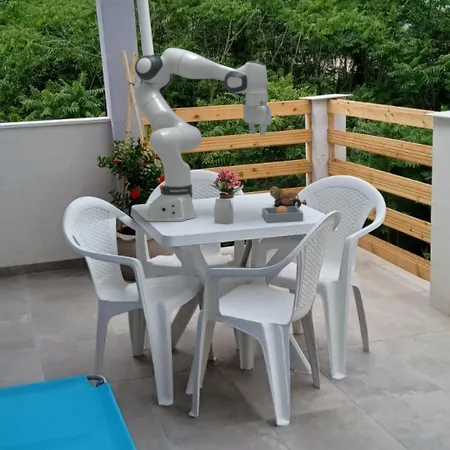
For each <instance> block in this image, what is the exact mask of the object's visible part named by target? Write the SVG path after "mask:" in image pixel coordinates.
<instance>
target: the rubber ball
mask: <svg viewBox="0 0 450 450" xmlns="http://www.w3.org/2000/svg"><path fill="white" fill-rule="evenodd" d="M278 213H288V210H287V208H286V207H285V206H279V207H278V208H277V210H276V214H278Z"/></svg>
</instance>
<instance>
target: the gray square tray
mask: <svg viewBox="0 0 450 450" xmlns="http://www.w3.org/2000/svg"><path fill="white" fill-rule="evenodd" d="M277 208H278V207H274V206H273V207H262V208H261V210H262V213H261V214H262V216H261V217H262V218H263V219H264V220H265V222H266V224H267V223H269V224H271V223H273V222H275V223H291V222H304V212H303V211H302V210H301V209H300V207H299V208H298V207H297V205H295V206H292V207H286V208H287V210H288V213H278V214H276V210H277Z"/></svg>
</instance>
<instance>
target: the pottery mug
mask: <svg viewBox="0 0 450 450" xmlns="http://www.w3.org/2000/svg"><path fill="white" fill-rule="evenodd" d="M280 201H281V202H280ZM292 202H293V203H292ZM297 202H298V205H296V204H297ZM279 206H285V207H292V206H297V207H298V208H299V209H300V208H301V206H302V201H301V199H294V200H292V199H291V197H289V196H286V197H281V198H278V199H276V200H275V199H274V205H273V207H279Z"/></svg>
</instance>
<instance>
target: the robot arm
mask: <svg viewBox="0 0 450 450" xmlns="http://www.w3.org/2000/svg"><path fill="white" fill-rule="evenodd" d="M134 71H135V73H136V75H137V77H138V78H139V79H141V80H142V81H141V84H139V85H138V86H137V87H136V88H135V91H134V98H135V100H136V101H135V102H136V103H137V104H138V105H137V106H138V108H139V109H140V111H141V112H142V114H143V115H144V117H145V118H146V120H147V121H148V124H150V126H151V127H152V128H154V129H155V131H152V133H151V134H150V137H149V146H150V149H151V151H152V152H154V153H155V154H156V155H157V156H158V157H159V159H160V161H161V164H162V167H163V173H164V185H160V186H159V190H160V194H159V195H158V196H157V197H156V198H155V199H154V200H153V201H151V203H149V207H148V213H146V214H144V215H143V220H144V221H145V222H183V221H187V220H190V219H195V218H196V216H197V215H196V212H195V209H194V208H195V207H194V203H193V186H192V185H193V184H192V180H191V167H190V165H189V164H188V163H187V162H185V161H184V160H183V157H182V153H186V152H191V151H192V150H195V149H198V148H199V147H200V145H201V143H202V140H203V139H202V133H201V131H200V129H199V128H197V127H196V126H193V125H191V124H190V123H187V122H186V121H185V120H183V119H182V118H181V117H179V116H178V114H177V113H175V112H174V111H173V109H172V108H171V106H170V104H168V102H167V101H166V99H165V98H164V97H163V95H162V93H164V91H165V90H166V89H167V88H169V86H170V85H171V84H172V82H173V75H174V74H175V75H177V76H180V77H183V78H186V79H190V80H191V79H192V80H201V79H202V80H204V79H214V80H215V79H216V80H219V81H223V84H224V87H225V89H226V90H227V91H228V92H229V93H231V94H243V93H245V97H244V98H243V99H242V101H241V105H242V112H243V114H242V115H243V120H244V121H243V122H244V123H247V124H248V127H249V130H250V134H251V135H255V134H256V132H257V131H256V128H255V125H260V127H261V128H260V131H259V135H260V136H262V137H263V136H266V130H267V128H268V126H270V125H271V124H272V122H273V121H272V109H271V106H270V105H269V103H268V100H269V98H268V97H269V96H268V95H269V93H268V89H267V86H268V73H267V66H266V64H264V63H263V62H261V61H256V60H255V61H254V60H249V61H247V62H246V63H245V64H244V65H241V66H240V67H238V68H233V67H230V66H226V65H223V64H220V63H217V62H214V61H212V60H210V59H209V58H207V57H204V56H202V55H199V54H198V53H195V52H193V51H190V50H186V49H182V48H178V47H168V48H167V49H165V50H164V51H163V53H162V54H161V56H160V55H159V54H156V53H155V54H151V55H150V54H146V55H142V56H141V57H139V58H138V59H137V60H136V61H135V65H134ZM172 74H173V75H172Z"/></svg>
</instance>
